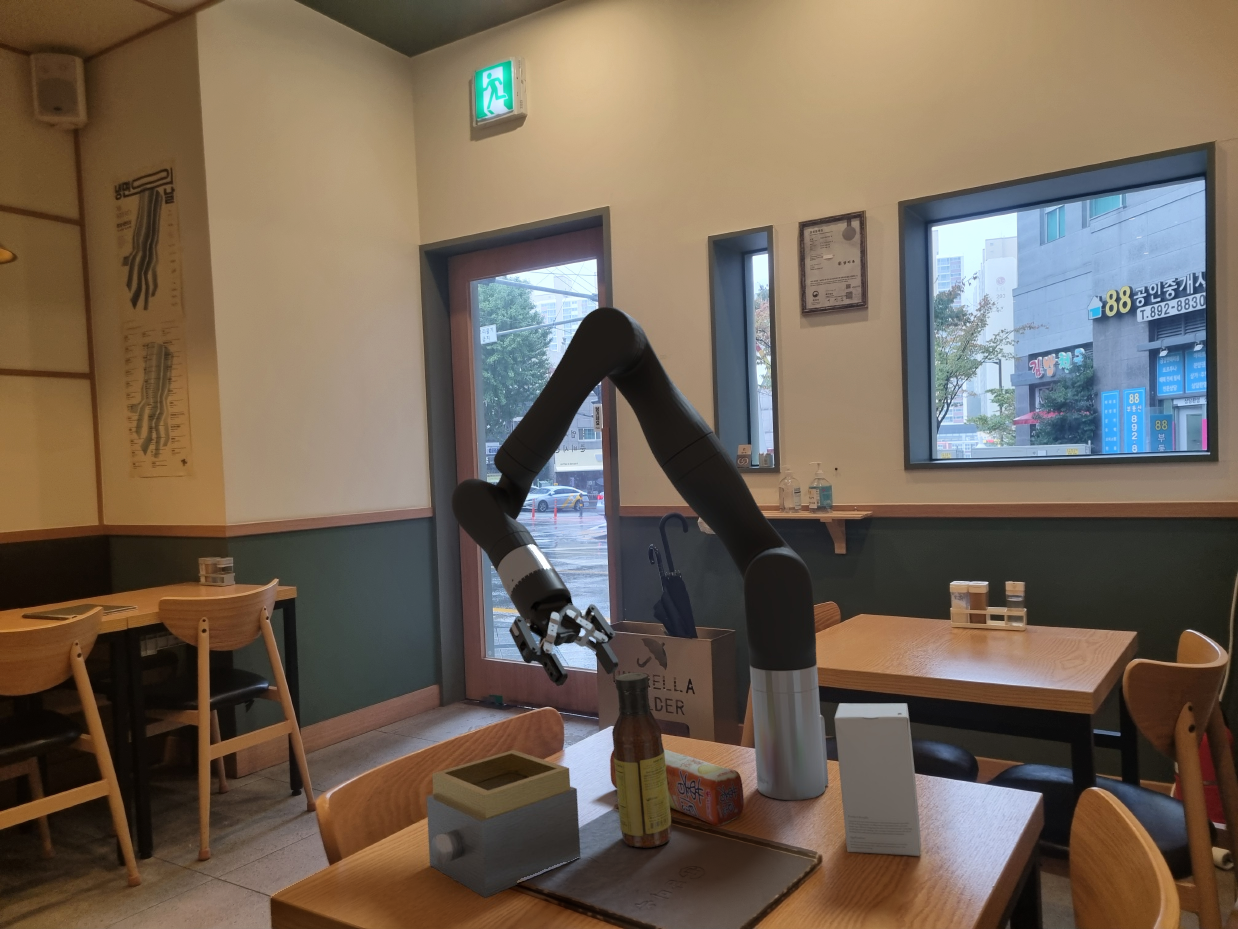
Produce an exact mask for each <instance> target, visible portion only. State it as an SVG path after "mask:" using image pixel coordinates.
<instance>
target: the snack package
mask: <svg viewBox="0 0 1238 929" xmlns="http://www.w3.org/2000/svg"><path fill="white" fill-rule="evenodd" d="M663 749H664V754H665V765H666V775H667V785H668V795H669V805H670V809H674V810H675V811H679V812H681V813H684V814H686V815H689V816H692V817H694V818H697V819H699V820H701V821H704V822H706V823H708V824H709V825H712V826H717V827H719V826H720V827H721V826H723V825H726V824H728V823H731V822H733V821H734V820H736V819H738V818H739V817H740V815H741V814H743V811H744V807H745V806H744V805H745V800H744V799H745V798H744V788H743V783H742V782H743V781H742V777H741V774H740V773H739V771H737V770H735V769H732V768H726V767H723V766H721V765H716V764H713V763H709V762H707V761H704V760H701V759H698V758H695V757H692V756H690V755H689V756H688V755H685V754H682V753H678V752H674V751H671V750H668V749H665V748H663ZM609 762H610V765H609V766H610V768H609V769H610V781H611V784H612V786H613V787H614V788H615V789H617V784H616V773H615V764H614V749H613V750H612V752H611V755H610V759H609Z"/></svg>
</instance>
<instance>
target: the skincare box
mask: <svg viewBox="0 0 1238 929" xmlns="http://www.w3.org/2000/svg"><path fill="white" fill-rule="evenodd" d="M908 708H909V707H908V703H904V702H903V703H897V702H896V703H893V702H891V703H848V702H847V703H845V702H844V703H841V702H839V704H838V706H837V708H836V713H835V715H834V717H833V719H834V727H835V728H834V729H835V737H836V746H837V750H836V751H837V759H838V760H837V761H838V768H839V769H838V770H839V780H840V792H841V803H842V812H843V822H844V832H845V843H846V850H847V853H862V854H863V853H864V854H879V855H880V854H881V855H895V856H896V855H898V856H899V855H900V856H910V857H911V856H913V857H914V856H915V857H920V856H921V852H922V851H921V849H922V848H921V846H922V844H921V843H922V842H921V826H920V815H919V803H918V792H917V784H916V783H917V782H916V771H915V763H914V752H913V744H912V735H911V734H912V732H911V724H910V716H909V715H910V714H909V709H908Z"/></svg>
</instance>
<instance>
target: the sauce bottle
mask: <svg viewBox="0 0 1238 929" xmlns="http://www.w3.org/2000/svg"><path fill="white" fill-rule="evenodd" d="M649 685H650V682H649V676H648V674H646V673H643V672H642V673H641V672H628V673H625V674H620V675H617V676H615V688H616V691H617V694H618V696H617V698H618V718H617V719H616V721H615V724H614V726H613V728H612V733H611V734H612V743H613V744H612V745H613V750H614V764H615V773H616V784H617V788H616V793H617V794H616V795H617V802H618V804H617V805H618V813H619V814H618V816H619V817H618V818H619V826H620V830H621V836H622V839H623V841H624V842H625V844H626V845H628V846H630V847H632V846H634V847H635V848H642V847H643V848H642V849H648V848H653V847H654V848H655V846H656V847H659V846H662V845H664V844H666V843H667V842H669V840H670V839H671V836H672V827H671V824H672V816H671V808H670V805H669V795H668V785H667V775H666V765H665V754H664V749H665V748H664V745H663V740H662V728H661V726H660V725H659V723H658V722H657V720H656V718H655V716H654V714H653V712H652V711H651V705H650V700H649V699H650V698H649V687H650V686H649ZM658 845H659V846H658ZM634 847H633V848H634Z"/></svg>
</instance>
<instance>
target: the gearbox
mask: <svg viewBox="0 0 1238 929" xmlns="http://www.w3.org/2000/svg"><path fill="white" fill-rule="evenodd" d="M431 775H432V791H433V792H432V794H430V795H427V796H426V809H427V811H426V813H427V830H428V831H427V833H428V852H429V866H430V867H432V868H433V869H435V870H437V871H439V872H440V873H443V875H446V876H447V877H448V878H451V879H452V880H454V881H456V882H458V883H459V884H461V885H463V886H464V887H466V888H468V889H470V891H473V892H475V893H476V894H478V895H480V896H482V897H483V898H488V897H491V896H493V895H496V894H497V893H500V892H503V891H505V890H508V889H510V888H512V887H514V886H517V885H518V884H517V881H518V880H520V879H521V878H524V877H527V876H530V875H533V874H535V873H538V872H540V871H542V870H544V869H548V868H549V867H552V866H554V865H557V864H560V863H563V862H568V861H571V860H573V859H575V858H577V857H580V858H581V846H580V845H581V842H580V826H579V824H580V823H579V808H578V789H577V788H576V787H573V786H572V785H571V778H570V777H571V776H570V768H569V767H567V766H564V765H560V764H558V763H554V762H552V761H548V760H545V759H542V758H540V757H537V756H533V755H529V754H527V753H525V752H521V751H518V750H514V749H512V750H509V751H506V752H502V753H498V754H494V755H491V756H488V757H485V758H481V759H477V760H474V761H471V762H467V763H464V764H459V765H456V766H454V767H450V768H446V769H443V770H440V771H436V772H433V773H432V774H431Z"/></svg>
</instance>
